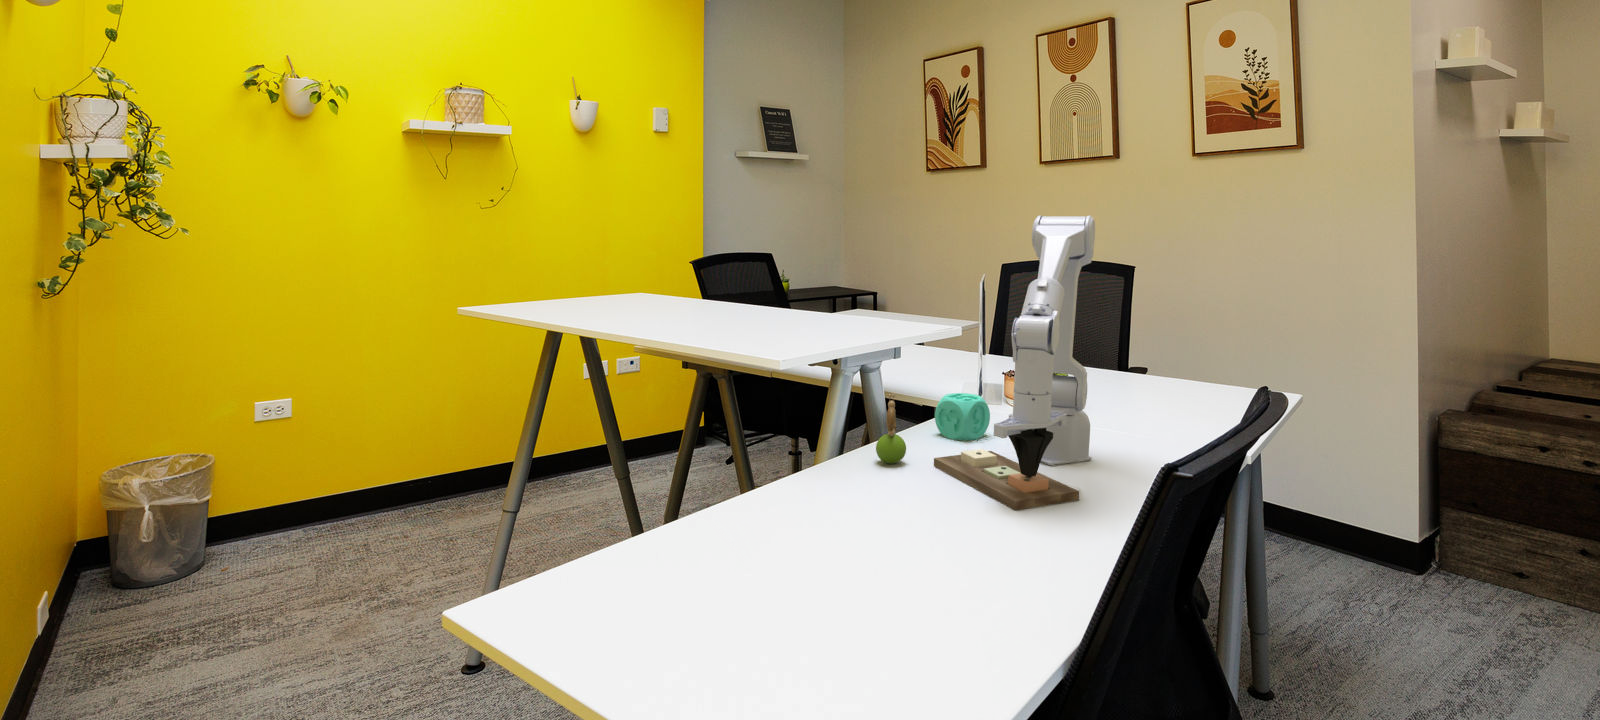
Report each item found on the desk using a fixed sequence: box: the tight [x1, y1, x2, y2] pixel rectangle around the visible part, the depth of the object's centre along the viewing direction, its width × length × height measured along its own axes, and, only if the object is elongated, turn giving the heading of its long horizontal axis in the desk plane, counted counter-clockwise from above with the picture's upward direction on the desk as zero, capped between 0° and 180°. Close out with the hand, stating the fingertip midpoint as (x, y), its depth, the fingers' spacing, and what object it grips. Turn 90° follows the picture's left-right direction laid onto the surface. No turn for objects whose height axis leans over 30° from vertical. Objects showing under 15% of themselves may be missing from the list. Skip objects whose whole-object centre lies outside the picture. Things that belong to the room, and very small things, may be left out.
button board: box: [933, 450, 1080, 511], centre depth 138 cm, size 12×24×2 cm, turn 21°
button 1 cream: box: [960, 448, 997, 468], centre depth 144 cm, size 4×4×2 cm
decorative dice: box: [934, 392, 991, 442], centre depth 167 cm, size 8×8×8 cm
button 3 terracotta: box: [1008, 473, 1049, 493], centre depth 132 cm, size 4×4×2 cm
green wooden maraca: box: [875, 393, 907, 465], centre depth 149 cm, size 5×6×12 cm
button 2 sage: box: [983, 466, 1020, 480], centre depth 138 cm, size 4×4×2 cm
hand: (1028, 474), depth 131 cm, fingers closed
